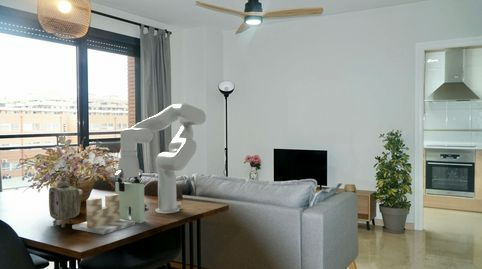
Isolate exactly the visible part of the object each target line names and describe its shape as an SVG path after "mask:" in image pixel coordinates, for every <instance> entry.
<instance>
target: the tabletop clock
mask: <svg viewBox="0 0 482 269" xmlns="http://www.w3.org/2000/svg"><path fill="white" fill-rule="evenodd" d="M62 174H64V176H63V177H62ZM59 176H60V179H61V181H59V182H58V183H57V186H51V187H49V189H48V208H49V209H48V210H49V215H50V217H51V218H52V219H54V220H53V221H52V224H54V225H55V224H57V223H58V221H60V220H63V222H62V224H61V228H63V229H64V228H65V227H66V224H65V223H66V220H67V224H68V225H70V224H71V225H72V221H71V220H70V219H72V218H76V217H77V216H79V215H80V213H81V205H80V195H79V190H78V189H79V188H76V187H74V186H72V185H70V182H69V181H67V177H68V176H67V173H66V171H64V170H63V171H60V174H59Z"/></svg>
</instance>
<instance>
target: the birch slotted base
mask: <svg viewBox="0 0 482 269" xmlns="http://www.w3.org/2000/svg"><path fill="white" fill-rule="evenodd" d="M104 198H105V199H104V202H105V203H104V204H105V206H103V197H93V198H88V199H86V201H85V202H86V221H84V222H80V223H76V224H71V225H72V226H71V227H72V229H73V230H79V231H84V232H89V233H92V234H93V233H94V234H98V235H99V234H100V235H105V234H109V233H112V232H115V231H119V230H122V229H126V228H128V227H132V226H134V225H136V224H135V223H136V222H135V221H131V220H129V219H128V220H122V219H120V205H119V194H115V193H114V194H108V195H104Z"/></svg>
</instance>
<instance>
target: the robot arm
mask: <svg viewBox="0 0 482 269" xmlns="http://www.w3.org/2000/svg"><path fill="white" fill-rule="evenodd" d="M206 120H207V115H206V113H205V111H204V110H203V109H201V108H198V107H196V106H193V105H190V104H188V103H173V104H170V105H169V106H167V107H166V108H164V109H162V111H159V113H157V114H155V115H153V116H150V117H149V118H146V119H144V120H142V121H140V122H137V123H136V124H135V125H134V126H131V127H130V128H122V129H121V130H120V134H119V135H120V157H119V159H118V165H117V171H116V173H114V178H115V181H116V182H118V183H119V191H122V192H124V191H125V183H124V182H125V181H126V179H127V180H128V179H134V180H133V183H139V184H141V182H140V181H141V180H142V179H141V178H142V177H143V173H144V170H142V169H141V168H140V162H139V157H138V144H148V143H150V142H152V140H153V137H154V132H159V131H162V130H166V129H167V128H169V127H170V126H171V125H172V124H173V123H175V122H176V121H179V131H178V132H177V133H176V135H175V136H174V137H173V139H172V140H171V141H170V142H169V144H168V151H163V152H159V154H157V156H156V158H155V165H156V171H157V198H158V199H157V201H158V202H157V204H158V207H157V208H155V212H156V213H157V214H174V213H177V212H180V207H178V206H180V205H182V201H177V176H176V173H175V172H176V171H177V172H178V171H183V170H184V169H186V166H188V164H189V163H190V162H191V160H192V158H193V157H194V156H195V154H196V151H197V143H196V141H195V139H194V129H193V126H200V125H203V124H204V123H205V122H206Z"/></svg>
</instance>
